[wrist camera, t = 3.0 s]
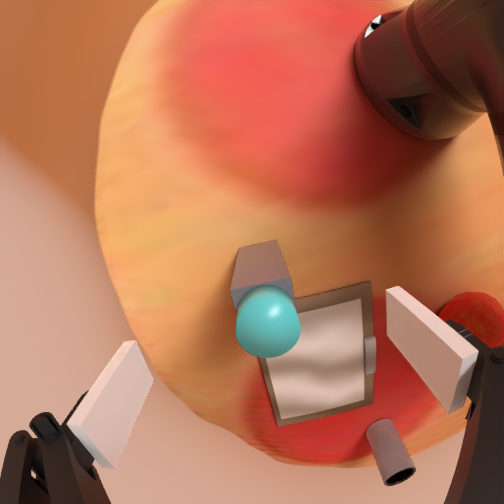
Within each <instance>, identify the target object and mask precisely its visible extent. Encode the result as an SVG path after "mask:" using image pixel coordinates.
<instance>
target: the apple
mask: <svg viewBox="0 0 504 504" xmlns="http://www.w3.org/2000/svg"><path fill="white" fill-rule="evenodd" d="M438 317H439V318H440V319H441V320H443V321H444V322H445V321H448V320H453V321H455V322H458V323H460V324H461V325H463V326H464V327H465V328H466V329H467V330H469V331H470V332H472V334H474V335H475V336H477V337H478V338H479V339H480V340H482V341H483V342H484V343H485V344H486V345H488V346H489V347H490V348H491V349H492V348H495V347H503V348H504V309H503V308H502V306H501V304H500V303H499V302H498V301H497V300H496V299H495V298H493V297H491V296H489V295H487V294H485V293H479V292H465V293H462V294H459V295H457V296H456V297H455V298H454V299H452V300H451V301H450V302H449V303H448V304H447V305H446V306H445V307H444V308H443V309H442V310H441V311H440V313H439V315H438Z"/></svg>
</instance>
